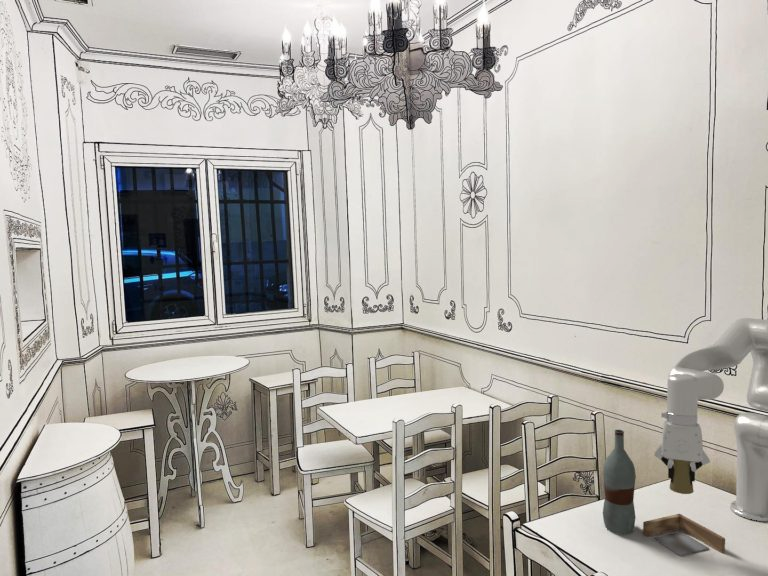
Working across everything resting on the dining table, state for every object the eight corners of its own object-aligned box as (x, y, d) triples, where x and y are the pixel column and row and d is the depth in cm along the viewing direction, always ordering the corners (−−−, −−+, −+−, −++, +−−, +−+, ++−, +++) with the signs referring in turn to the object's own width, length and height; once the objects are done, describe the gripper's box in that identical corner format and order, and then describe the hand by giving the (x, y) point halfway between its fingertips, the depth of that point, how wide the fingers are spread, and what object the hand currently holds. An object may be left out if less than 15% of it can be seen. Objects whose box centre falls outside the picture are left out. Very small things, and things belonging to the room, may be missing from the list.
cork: (689, 485, 162) (690, 448, 161) (696, 494, 156) (697, 456, 155) (666, 484, 163) (667, 447, 162) (673, 493, 157) (673, 454, 156)
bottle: (598, 520, 176) (598, 425, 173) (629, 520, 175) (629, 425, 173) (608, 535, 166) (608, 436, 164) (640, 535, 165) (640, 436, 163)
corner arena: (679, 526, 170) (679, 513, 170) (724, 552, 156) (725, 538, 155) (643, 534, 166) (643, 521, 166) (686, 562, 151) (686, 547, 151)
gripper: (648, 419, 158) (648, 482, 160) (717, 426, 151) (716, 492, 152) (649, 411, 165) (648, 472, 166) (715, 418, 157) (714, 481, 159)
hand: (681, 481), depth 159 cm, fingers closed on cork, 3 cm apart
